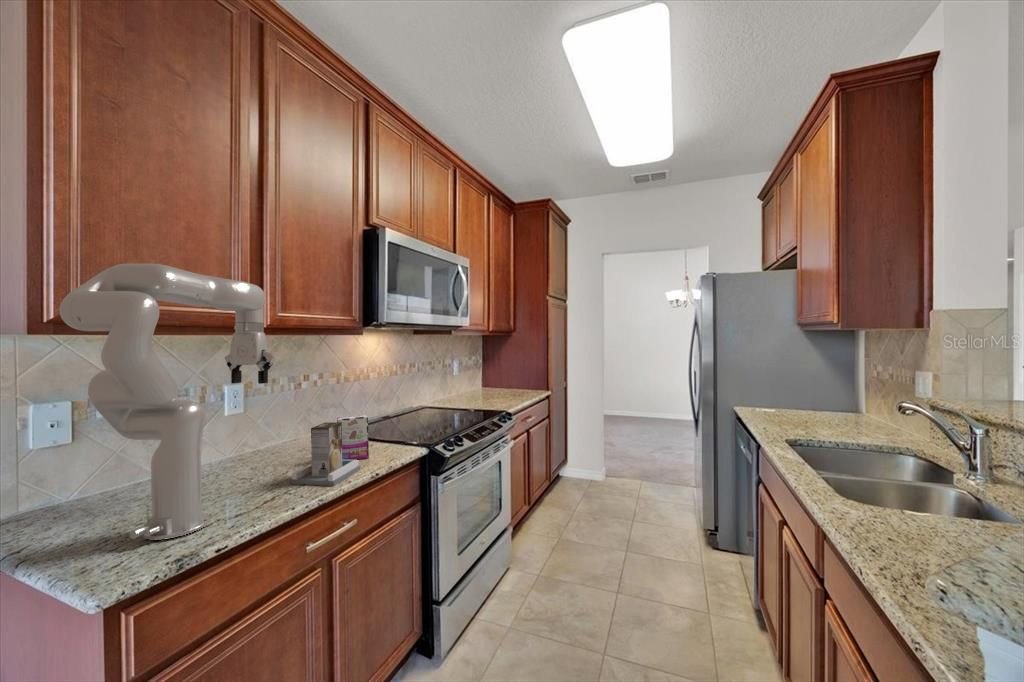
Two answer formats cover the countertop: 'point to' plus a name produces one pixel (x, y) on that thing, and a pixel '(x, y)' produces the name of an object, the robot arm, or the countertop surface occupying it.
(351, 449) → the candy bar box
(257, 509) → the countertop surface
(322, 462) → the coffee box
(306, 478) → the tray
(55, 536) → the countertop surface
